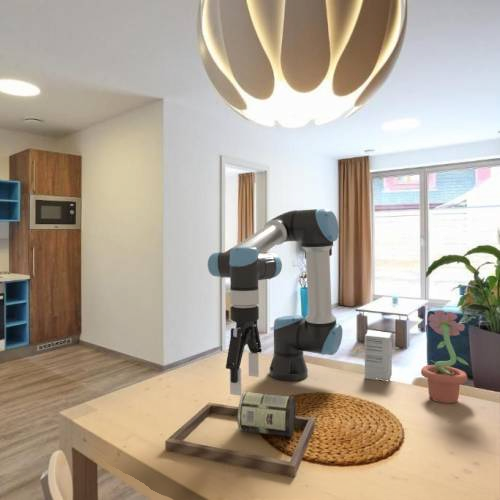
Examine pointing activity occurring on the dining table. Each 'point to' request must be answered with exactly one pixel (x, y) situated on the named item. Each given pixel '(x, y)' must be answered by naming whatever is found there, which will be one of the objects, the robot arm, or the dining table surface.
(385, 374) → the supplement box
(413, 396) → the dining table surface
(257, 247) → the robot arm
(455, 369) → the decorative flower
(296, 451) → the walnut frame
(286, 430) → the coffee can
